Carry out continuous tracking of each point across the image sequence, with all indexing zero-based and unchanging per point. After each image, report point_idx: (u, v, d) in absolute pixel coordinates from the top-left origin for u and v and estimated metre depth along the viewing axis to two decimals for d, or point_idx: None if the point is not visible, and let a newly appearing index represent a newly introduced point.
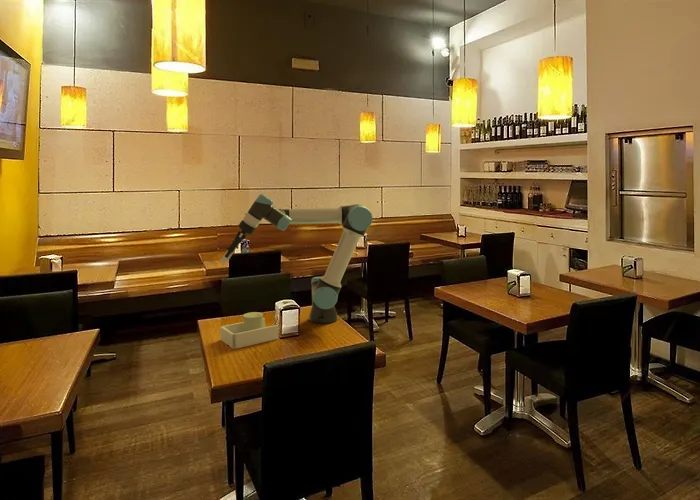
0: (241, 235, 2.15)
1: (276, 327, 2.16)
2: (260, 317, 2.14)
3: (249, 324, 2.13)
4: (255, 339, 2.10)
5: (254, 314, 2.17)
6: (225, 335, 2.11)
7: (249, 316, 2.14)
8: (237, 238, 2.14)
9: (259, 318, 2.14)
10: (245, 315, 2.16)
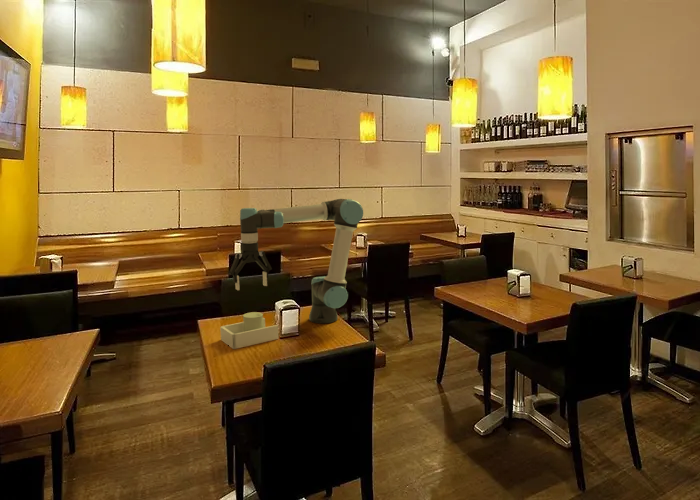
0: (236, 255, 2.08)
1: (276, 327, 2.16)
2: (260, 317, 2.14)
3: (249, 324, 2.13)
4: (255, 339, 2.10)
5: (254, 314, 2.17)
6: (225, 335, 2.11)
7: (249, 316, 2.14)
8: (234, 260, 2.09)
9: (259, 318, 2.14)
10: (245, 315, 2.16)
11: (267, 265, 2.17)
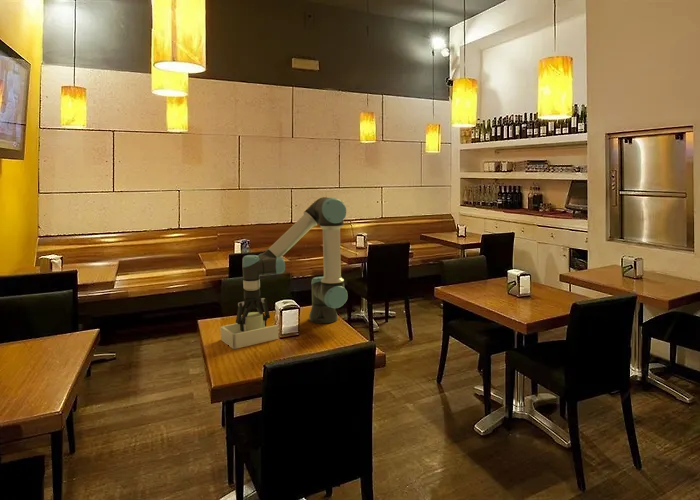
0: (238, 305, 2.11)
1: (276, 327, 2.16)
2: (260, 317, 2.14)
3: (249, 324, 2.13)
4: (255, 339, 2.10)
5: (254, 314, 2.17)
6: (225, 335, 2.11)
7: (249, 316, 2.14)
8: (238, 309, 2.12)
9: (259, 318, 2.14)
10: None
11: (266, 313, 2.19)
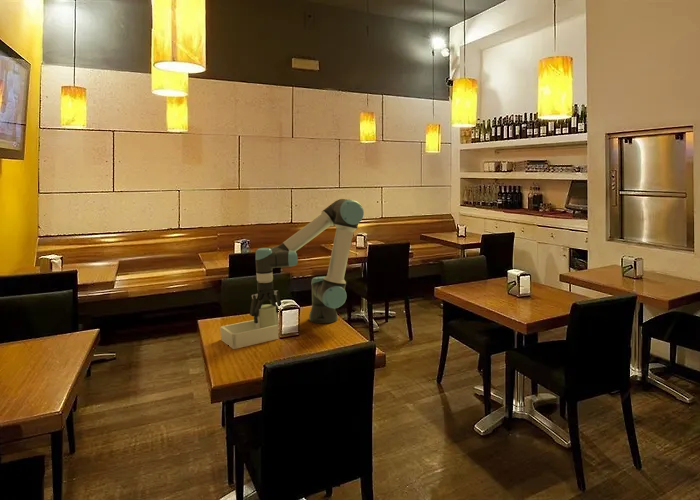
0: (252, 297, 2.15)
1: (276, 327, 2.16)
2: (273, 309, 2.18)
3: (263, 316, 2.16)
4: (255, 339, 2.10)
5: (267, 306, 2.21)
6: (225, 335, 2.11)
7: (263, 308, 2.18)
8: (252, 301, 2.16)
9: (272, 310, 2.17)
10: None
11: (279, 305, 2.23)
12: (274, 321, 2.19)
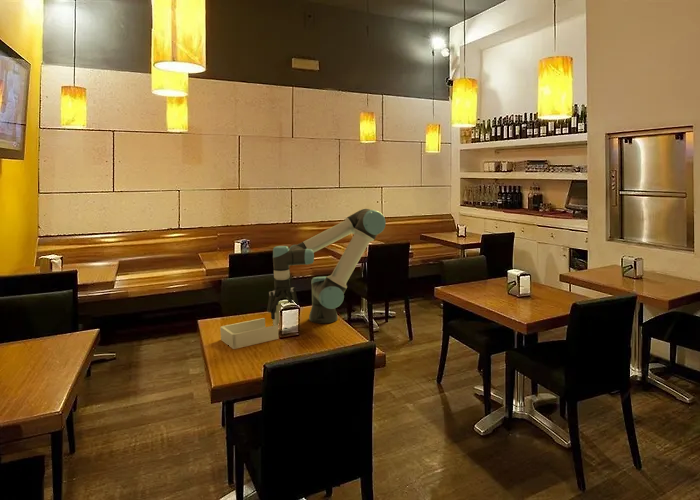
0: (270, 293, 2.20)
1: (276, 327, 2.16)
2: None
3: None
4: (255, 339, 2.10)
5: None
6: (225, 335, 2.11)
7: (279, 304, 2.23)
8: (269, 298, 2.21)
9: None
10: None
11: (295, 301, 2.28)
12: None
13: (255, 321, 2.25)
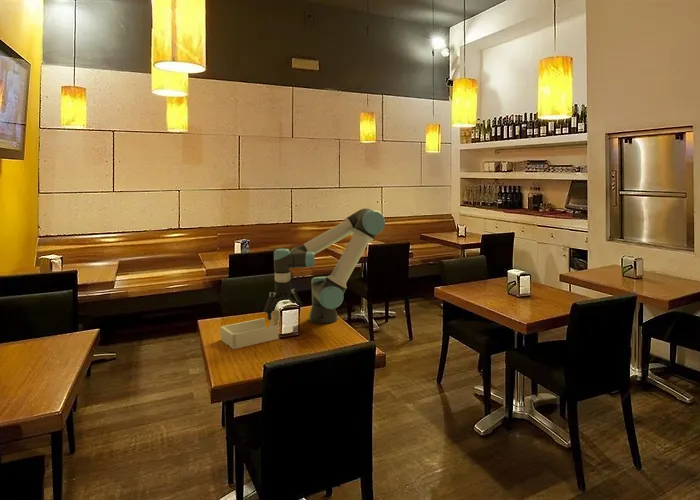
0: (270, 294, 2.20)
1: (276, 327, 2.16)
2: None
3: None
4: (255, 339, 2.10)
5: None
6: (225, 335, 2.11)
7: None
8: (268, 298, 2.21)
9: None
10: (276, 309, 2.25)
11: (298, 302, 2.29)
12: None
13: (255, 321, 2.25)
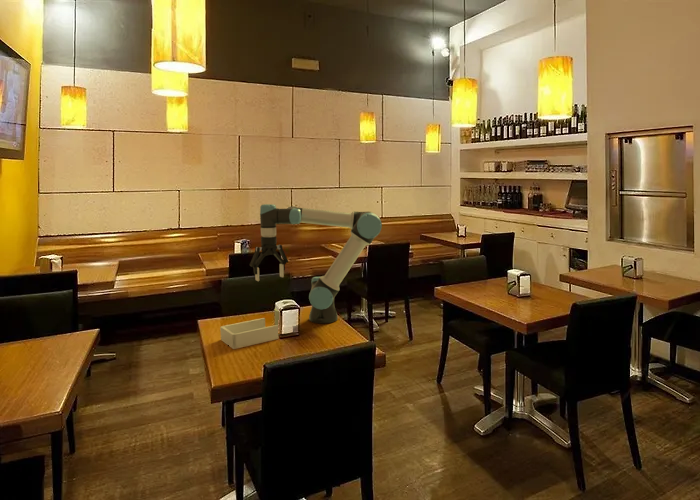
0: (256, 248, 2.23)
1: (276, 327, 2.16)
2: None
3: None
4: (255, 339, 2.10)
5: None
6: (225, 335, 2.11)
7: None
8: (255, 253, 2.23)
9: None
10: (276, 309, 2.25)
11: (284, 258, 2.32)
12: None
13: (255, 321, 2.25)
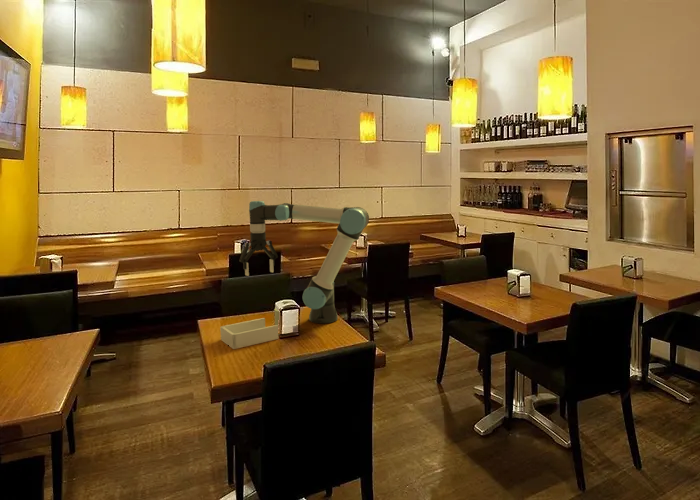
0: (245, 244, 2.28)
1: (276, 327, 2.16)
2: None
3: None
4: (255, 339, 2.10)
5: None
6: (225, 335, 2.11)
7: None
8: (244, 248, 2.29)
9: None
10: (276, 309, 2.25)
11: (274, 253, 2.37)
12: None
13: (255, 321, 2.25)
